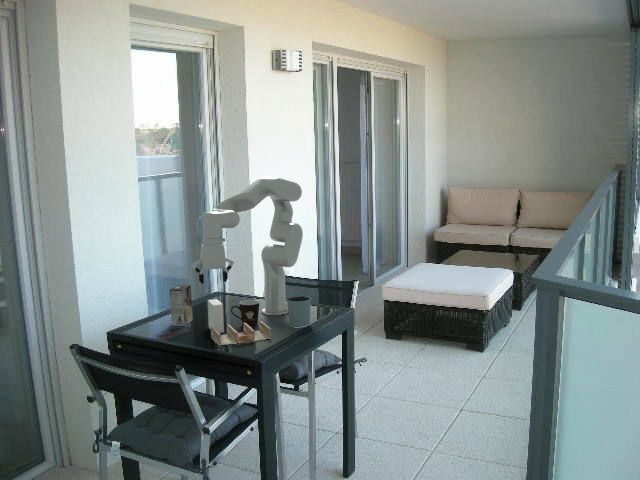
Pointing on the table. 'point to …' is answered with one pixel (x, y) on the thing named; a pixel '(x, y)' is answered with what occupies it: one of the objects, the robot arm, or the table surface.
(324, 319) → the table surface
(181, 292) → the coffee box
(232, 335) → the divider rack
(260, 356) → the table surface
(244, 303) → the coffee mug
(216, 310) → the white rectangular block
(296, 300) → the grey plant pot
